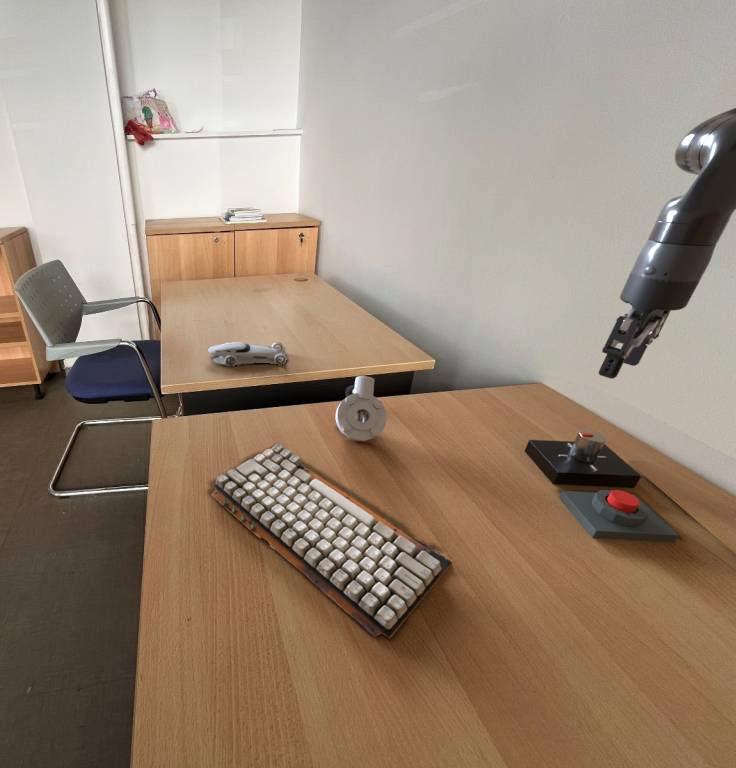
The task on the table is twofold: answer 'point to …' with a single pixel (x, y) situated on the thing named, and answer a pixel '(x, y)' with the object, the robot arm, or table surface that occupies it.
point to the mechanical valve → (361, 411)
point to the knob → (587, 446)
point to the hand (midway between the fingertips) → (617, 369)
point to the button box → (616, 518)
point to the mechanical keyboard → (332, 539)
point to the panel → (580, 466)
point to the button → (623, 501)
